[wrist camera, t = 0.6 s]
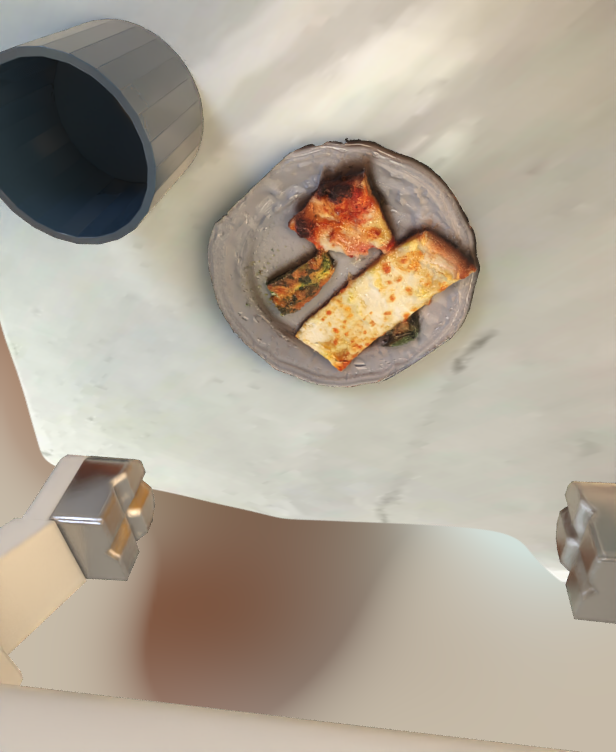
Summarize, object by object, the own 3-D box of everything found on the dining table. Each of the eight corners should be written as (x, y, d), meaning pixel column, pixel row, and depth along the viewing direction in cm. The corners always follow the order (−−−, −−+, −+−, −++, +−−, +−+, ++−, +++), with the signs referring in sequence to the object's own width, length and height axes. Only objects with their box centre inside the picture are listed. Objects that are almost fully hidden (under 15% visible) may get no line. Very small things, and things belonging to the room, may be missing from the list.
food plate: (365, 74, 44) (363, 84, 42) (525, 280, 53) (532, 300, 51) (172, 259, 57) (160, 277, 54) (328, 401, 66) (324, 422, 63)
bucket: (28, 21, 45) (-69, 48, 36) (189, 16, 44) (130, 43, 34) (77, 186, 54) (8, 242, 44) (214, 187, 52) (172, 246, 43)
